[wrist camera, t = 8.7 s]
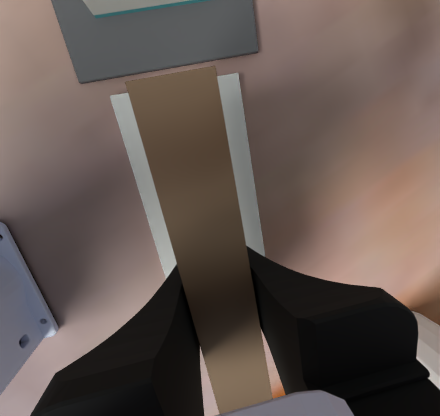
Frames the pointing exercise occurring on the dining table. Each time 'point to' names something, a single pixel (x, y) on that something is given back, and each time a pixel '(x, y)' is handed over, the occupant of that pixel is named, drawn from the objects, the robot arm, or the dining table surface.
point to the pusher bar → (204, 226)
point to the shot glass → (429, 346)
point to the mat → (154, 37)
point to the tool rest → (240, 163)
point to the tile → (130, 6)
